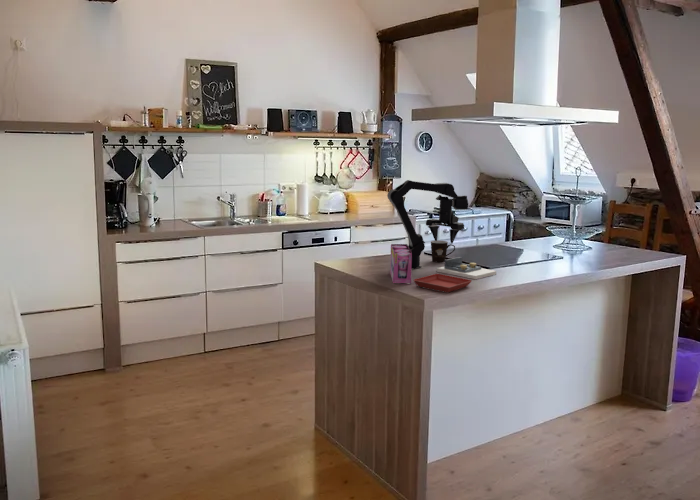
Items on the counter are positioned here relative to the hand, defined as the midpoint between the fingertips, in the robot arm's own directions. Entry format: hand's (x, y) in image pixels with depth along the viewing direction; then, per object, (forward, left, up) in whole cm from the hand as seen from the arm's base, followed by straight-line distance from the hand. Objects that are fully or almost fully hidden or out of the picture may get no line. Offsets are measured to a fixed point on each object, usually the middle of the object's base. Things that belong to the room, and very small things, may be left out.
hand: (443, 242), depth 300 cm
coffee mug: (+10, +8, -12) cm, 18 cm away
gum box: (-34, -3, -12) cm, 37 cm away
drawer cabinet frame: (-2, -14, -11) cm, 17 cm away
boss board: (-2, -16, -12) cm, 20 cm away
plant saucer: (-32, -26, -13) cm, 43 cm away
